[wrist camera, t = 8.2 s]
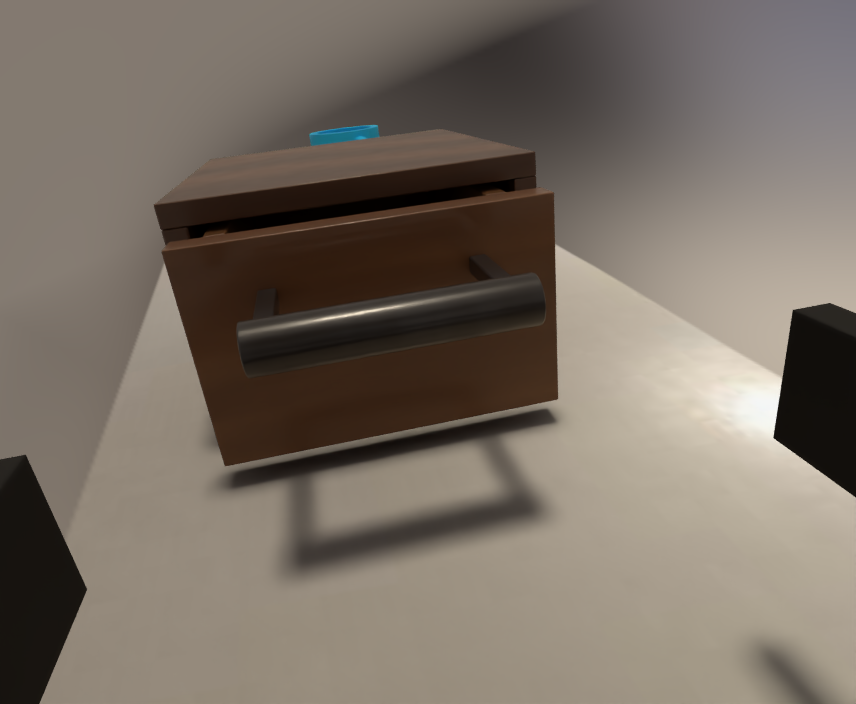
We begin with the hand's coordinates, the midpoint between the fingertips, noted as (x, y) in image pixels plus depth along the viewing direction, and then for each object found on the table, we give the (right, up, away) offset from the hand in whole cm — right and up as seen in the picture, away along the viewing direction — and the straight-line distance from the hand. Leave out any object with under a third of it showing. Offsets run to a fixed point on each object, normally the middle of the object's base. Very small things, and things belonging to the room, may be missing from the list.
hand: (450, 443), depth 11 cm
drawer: (-2, 0, +16) cm, 16 cm away
